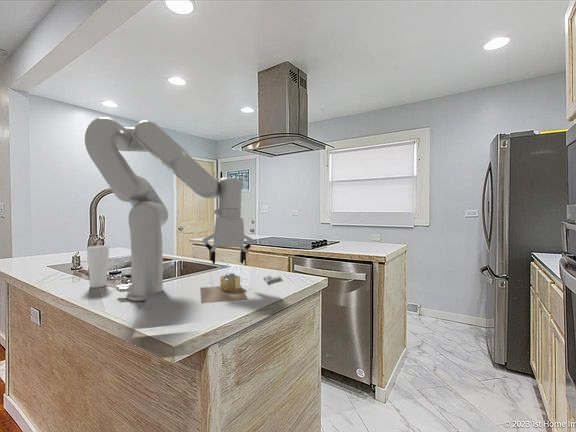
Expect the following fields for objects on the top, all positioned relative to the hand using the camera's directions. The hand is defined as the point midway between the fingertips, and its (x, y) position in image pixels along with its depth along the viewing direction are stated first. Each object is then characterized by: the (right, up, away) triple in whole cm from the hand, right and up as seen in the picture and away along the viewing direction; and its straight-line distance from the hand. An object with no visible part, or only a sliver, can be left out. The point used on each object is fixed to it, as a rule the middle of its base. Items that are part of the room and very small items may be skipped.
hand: (227, 262), depth 105 cm
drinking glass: (-50, -10, +8) cm, 52 cm away
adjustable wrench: (+11, -11, +11) cm, 19 cm away
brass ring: (+1, -9, 0) cm, 9 cm away
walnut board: (-1, -11, -5) cm, 12 cm away
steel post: (+1, -9, 0) cm, 9 cm away
